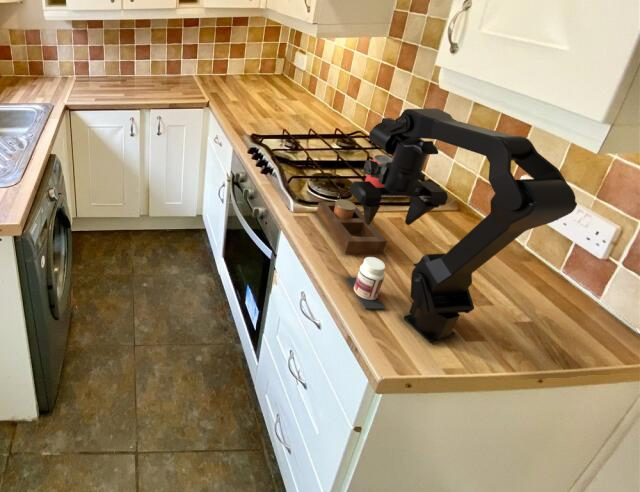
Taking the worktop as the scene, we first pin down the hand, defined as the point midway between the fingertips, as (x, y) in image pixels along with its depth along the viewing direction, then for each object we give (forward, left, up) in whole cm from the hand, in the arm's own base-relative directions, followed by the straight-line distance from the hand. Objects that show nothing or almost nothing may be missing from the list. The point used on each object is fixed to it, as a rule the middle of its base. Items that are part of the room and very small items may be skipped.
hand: (387, 224), depth 95 cm
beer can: (+26, -26, -12) cm, 39 cm away
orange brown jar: (+16, -4, -12) cm, 20 cm away
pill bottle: (-7, +9, -12) cm, 17 cm away
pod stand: (+12, -3, -12) cm, 17 cm away
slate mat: (-7, +9, -12) cm, 17 cm away
